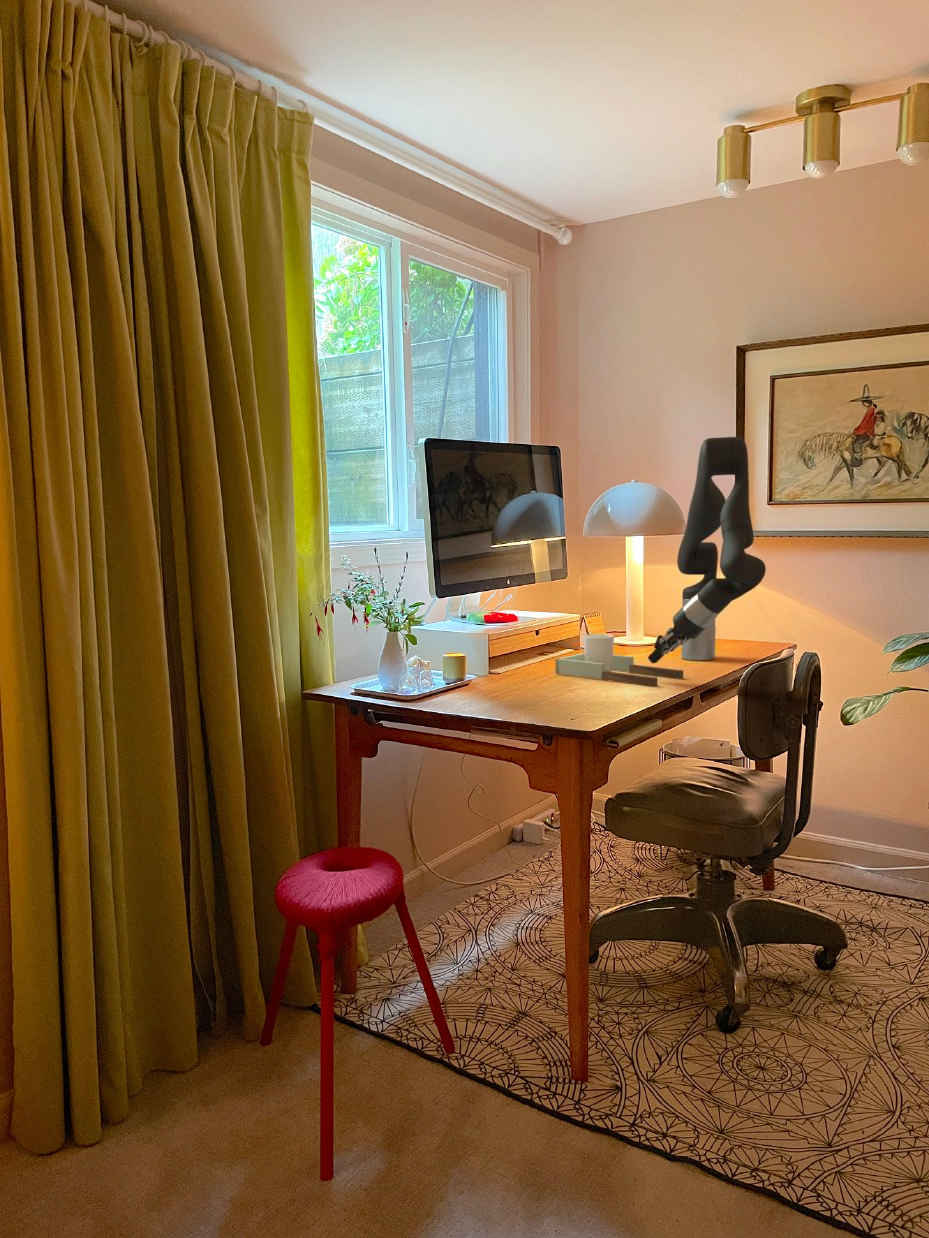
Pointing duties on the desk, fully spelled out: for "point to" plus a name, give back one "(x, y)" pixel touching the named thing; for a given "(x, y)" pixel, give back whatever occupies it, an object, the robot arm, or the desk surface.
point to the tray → (589, 666)
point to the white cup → (599, 649)
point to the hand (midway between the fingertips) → (651, 660)
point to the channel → (645, 671)
